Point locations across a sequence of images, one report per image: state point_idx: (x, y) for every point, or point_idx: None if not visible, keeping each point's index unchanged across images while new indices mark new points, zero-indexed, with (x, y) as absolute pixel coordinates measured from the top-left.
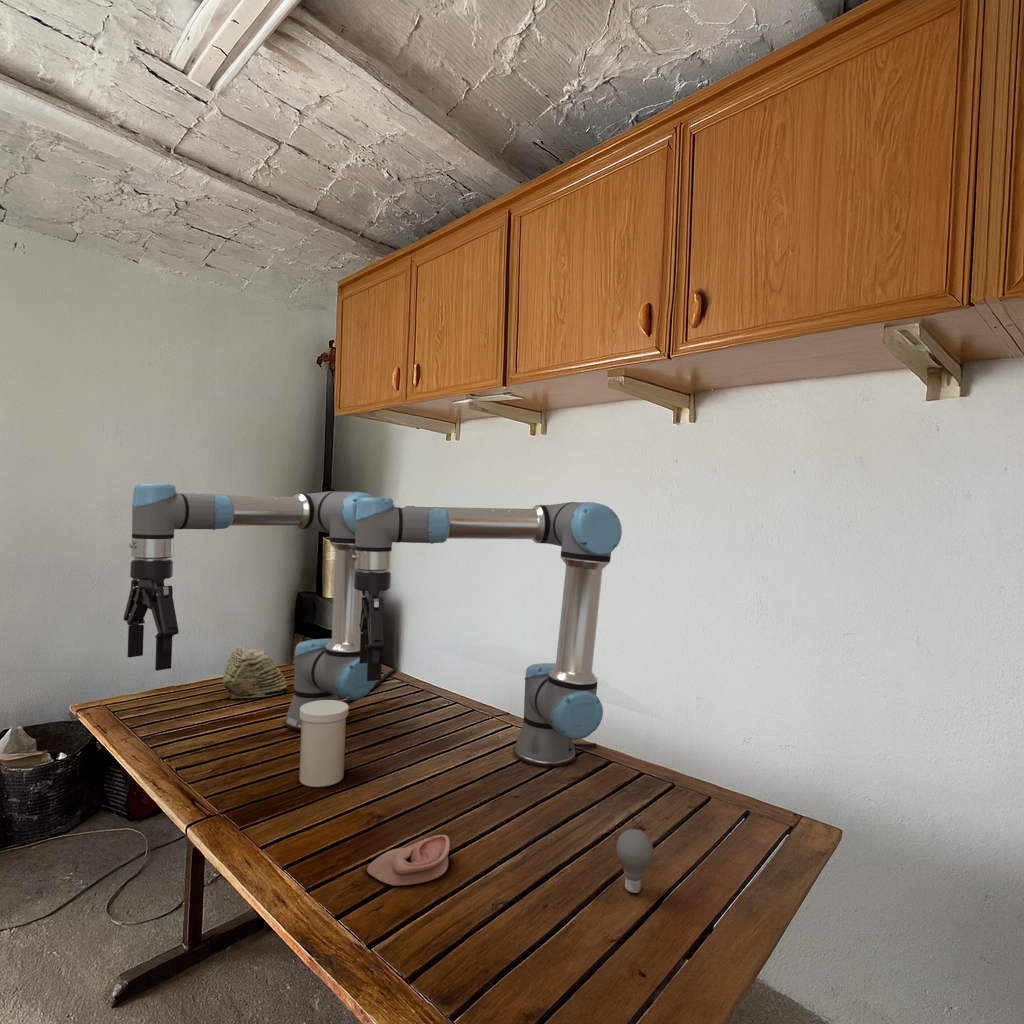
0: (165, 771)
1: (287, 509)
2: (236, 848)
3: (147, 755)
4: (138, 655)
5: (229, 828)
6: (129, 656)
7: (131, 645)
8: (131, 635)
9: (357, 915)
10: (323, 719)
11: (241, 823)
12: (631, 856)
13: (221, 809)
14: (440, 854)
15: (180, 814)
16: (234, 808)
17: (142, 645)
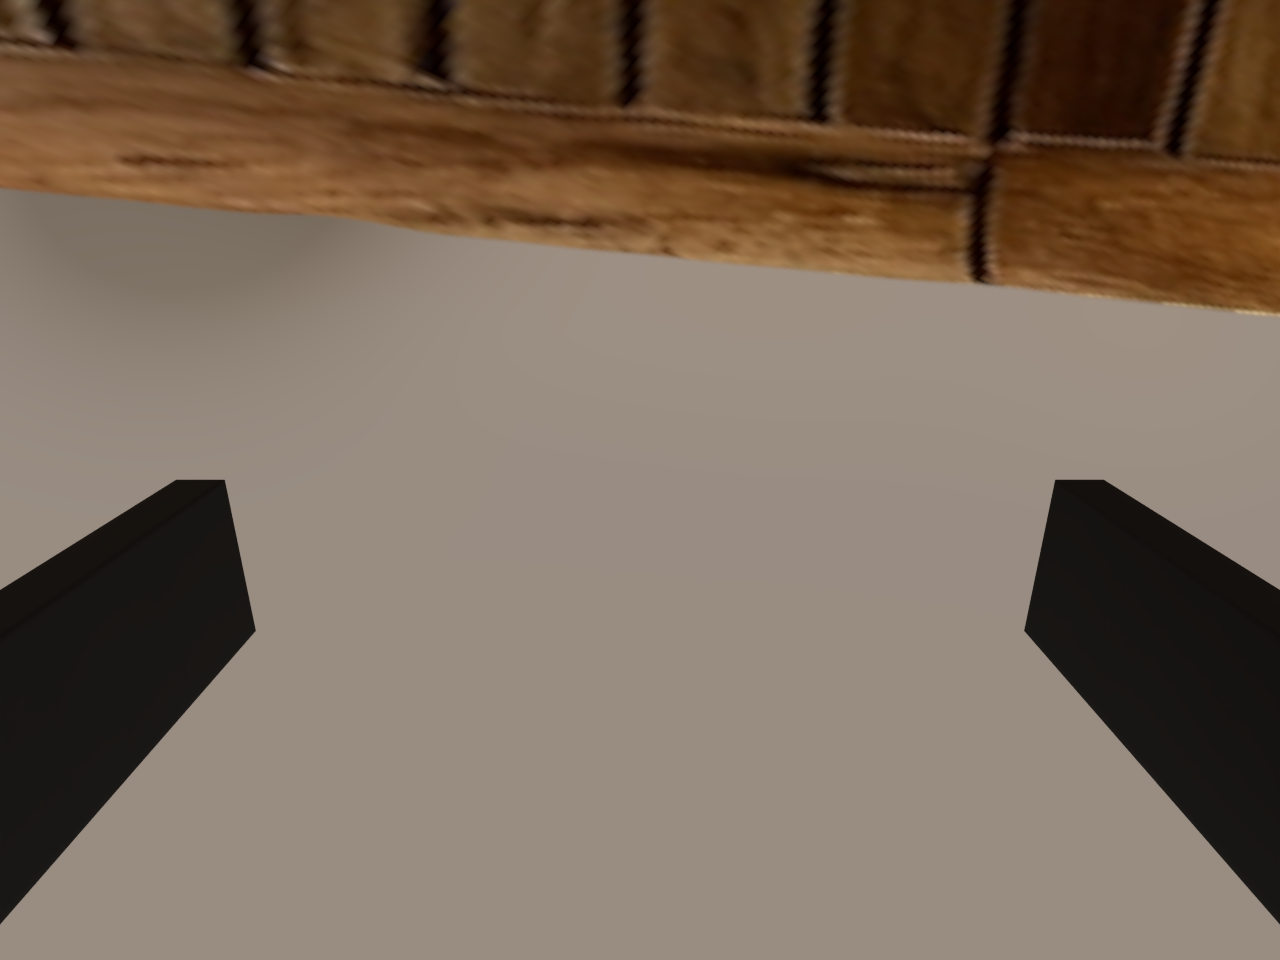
0: (424, 125)
1: None
2: (1269, 235)
3: (167, 106)
4: (233, 535)
5: (1129, 180)
6: (247, 631)
7: (162, 702)
8: (52, 828)
9: None
10: None
11: (1139, 124)
12: None
13: (969, 123)
14: None
15: (874, 263)
16: (1007, 76)
17: (139, 547)
